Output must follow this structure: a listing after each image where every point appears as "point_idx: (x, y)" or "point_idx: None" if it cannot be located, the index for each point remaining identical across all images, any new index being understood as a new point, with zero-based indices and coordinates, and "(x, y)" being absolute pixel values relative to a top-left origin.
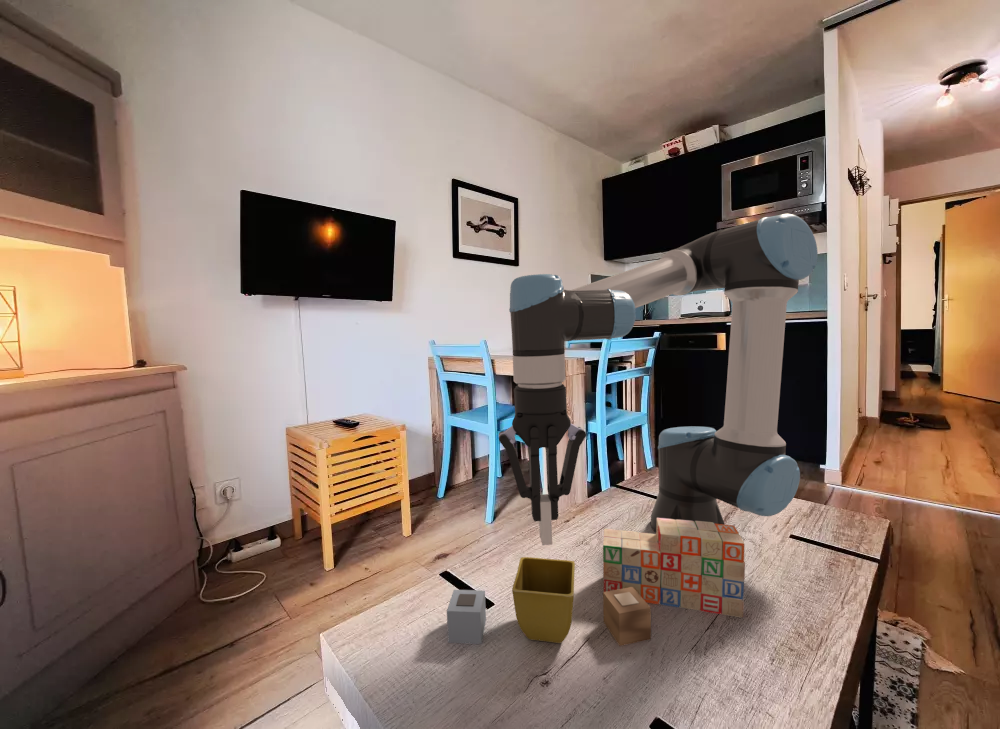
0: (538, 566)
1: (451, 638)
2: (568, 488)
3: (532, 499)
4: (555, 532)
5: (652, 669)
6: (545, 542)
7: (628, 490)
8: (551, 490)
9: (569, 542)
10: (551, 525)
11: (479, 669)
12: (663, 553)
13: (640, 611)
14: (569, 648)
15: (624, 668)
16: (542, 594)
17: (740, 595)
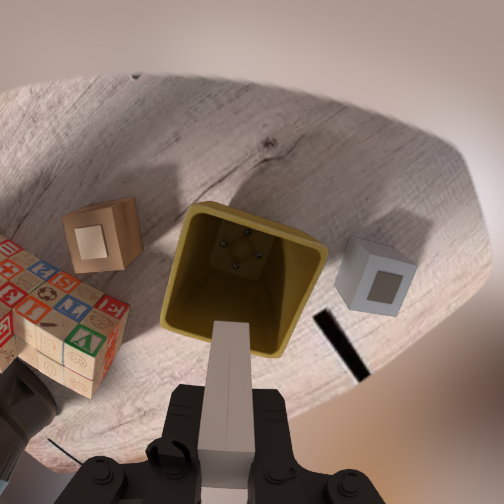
0: None
1: (392, 248)
2: (84, 481)
3: (293, 467)
4: None
5: (106, 149)
6: (237, 327)
7: (82, 463)
8: (184, 500)
9: (163, 417)
10: (208, 364)
11: (360, 188)
12: (9, 305)
13: (78, 212)
14: None
15: (142, 153)
16: (262, 224)
17: None
